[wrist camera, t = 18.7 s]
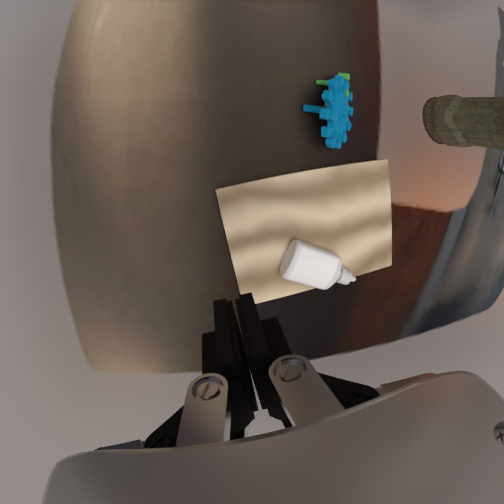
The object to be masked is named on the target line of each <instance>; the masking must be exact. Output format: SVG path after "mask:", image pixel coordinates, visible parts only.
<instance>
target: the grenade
mask: <svg viewBox="0 0 504 504" xmlns="http://www.w3.org/2000/svg"><path fill="white" fill-rule="evenodd" d="M423 123H424V126H425V130H426V131H427V133H428V135H429V136H430V138H431V139H432V140H433V141H435V142H436V143H439V144H446V145H449V146H457V147H469V146H481V147H487V148H493V149H499V150H504V97H468V98H463V97H460V96H457V95H446V96H441V97H433V98H430V99H428V100H427V101H426V103H425V105H424V107H423Z"/></svg>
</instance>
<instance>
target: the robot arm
mask: <svg viewBox="0 0 504 504" xmlns="http://www.w3.org/2000/svg"><path fill="white" fill-rule="evenodd" d="M239 296H240V298H239V299H235V301H236V306H237V311H238V317H239V322H240V327H241V332H242V336H241V332H240V329H239V325H238V322H237V318H236V315H235V311H234V307H233V304H232V301H227V300H226V298H225V299H221V300H216V301H214V302H213V303H214V321H215V331H213V332H208V333H204V334H202V375H201V376H198V377H197V378H195V379H194V380H193V381H192V382H191V383H190V385H189V387H188V389H187V394H186V398H185V403H184V405H183V406H182V407H181V408H180V409H179V410H178V411H177V412H176V413H175V414H173V415H172V416H171V417H170V418H169V419H168V420H167V421H165V422H164V423H163V424H162V425H161V426H160V427H159V428H157V429H156V430H155V431H154V432H153V433H152V434H151V435H150V436H149V437H148V438H147V439H146V441H141V440H140V439H139V440H135V441H130V442H126V443H121V444H116V445H111V446H106V447H100V448H98V449H95V450H94V451H88V452H82V453H78V454H75V455H71V456H68V457H66V458H64V459H62V460H60V461H59V462H58V463H57V464H56V465H55V466H54V468H53V469H52V471H51V473H50V475H49V478H48V481H47V484H46V488H45V491H44V495H43V500H42V504H504V399H503V398H502V396H501V395H500V394H499V393H498V392H497V391H496V390H495V389H494V388H493V387H492V386H491V385H489V384H488V383H487V382H486V381H485V380H484V379H482V378H481V377H479V376H478V375H476V374H474V373H471V372H467V371H452V372H447V373H440V374H434V373H425V374H422V375H418V376H414V377H411V378H406V379H402V380H399V381H394V382H390V383H386V384H382V385H380V388H375V389H374V388H372V387H370V386H367V385H363V384H359V383H355V382H351V381H347V380H343V379H339V378H336V377H332V376H328V375H325V374H321V373H318V372H317V371H316V370H315V369H314V367H313V366H312V365H311V363H310V362H309V361H308V360H307V359H306V358H305V357H303V356H300V355H292V353H291V351H290V348H289V346H288V343H287V341H286V338H285V336H284V333H283V331H282V328H281V326H280V323H279V321H278V318H277V317H272V318H268V319H264V320H260V318H259V315H258V312H257V308H256V305H255V302H254V298H253V295H252V292H250V293H246V294H242V295H239ZM242 337H243V339H242ZM243 342H244V343H243ZM249 368H250V369H249ZM250 371H251V373H250ZM251 374H252V378H253V381H254V384H255V387H256V391H257V394H258V397H259V400H260V403H261V406H262V409H268V412H269V415H270V416H271V417H274V418H276V419H278V420H280V421H281V424H282V426H283V428H284V429H281V430H277V431H273V432H269V433H265V434H260V435H255V436H251V437H248V430H247V426H248V425H249V423H250V422H251V421H252V420H253V419H255V417H254V411H258V406H257V402H256V397H255V392H254V388H253V383H252V378H251Z"/></svg>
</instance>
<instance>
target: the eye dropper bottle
mask: <svg viewBox="0 0 504 504" xmlns="http://www.w3.org/2000/svg"><path fill="white" fill-rule="evenodd" d="M280 274H281V276H282V278H284V279H286V280H290V281H293V282H297V283H300V284H304V285H308V286H311V287H315V288H319V289H324V290H325V289H328V288H329V287H331V286H332V285H333V284H334V283H335V282H338V283H341V284H345V285H347V284H349V283H350V281H355V280H356V278H355V277H354V276H352V271H351V270H350V269H347V268H344V267H342V259H341V257H340V256H339V255H337V254H336V253H334V252H331V251H328V250H325V249H323V248H320V247H317V246H314V245H311V244H309V243H306V242H303V241H300V240H293V241H292V242H291V244H290V245H289V247H288V249H287V251H286V253H285V255H284V257H283V260H282V263H281V266H280Z"/></svg>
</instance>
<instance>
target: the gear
mask: <svg viewBox="0 0 504 504" xmlns="http://www.w3.org/2000/svg"><path fill="white" fill-rule="evenodd" d="M349 79H350V75H349V74H348V73H338V75H335V78H332V79H329V80H328V81H327V80H316V84H317V85H328V87H329V90H324V92H323V94H322V99H323V100H324V101H325V104H324V107H323V106H314V105H304V106H303V111H304V112H312V113H320V116H319V117H320V119H326V120H327V122H328V125H327V127H326V126H322V127H321V135H322V137H327V139H326V141H325V142H326V146H327V147H329V148H338V149H340V148H341V142H343V143H345V142H346V140H347V135H346V131H350V128H351V123H350V121H349V117H348V115H349V116H352V115H353V107H349V105H348V101H352V92H349V90H348V89H349V87H350V86H349V82H348V81H349Z"/></svg>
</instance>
